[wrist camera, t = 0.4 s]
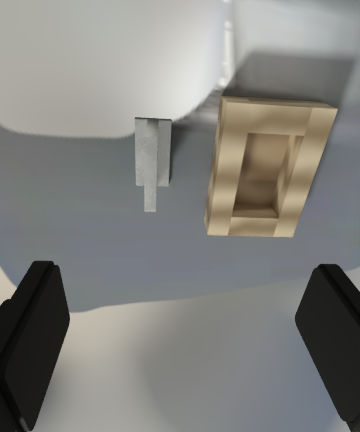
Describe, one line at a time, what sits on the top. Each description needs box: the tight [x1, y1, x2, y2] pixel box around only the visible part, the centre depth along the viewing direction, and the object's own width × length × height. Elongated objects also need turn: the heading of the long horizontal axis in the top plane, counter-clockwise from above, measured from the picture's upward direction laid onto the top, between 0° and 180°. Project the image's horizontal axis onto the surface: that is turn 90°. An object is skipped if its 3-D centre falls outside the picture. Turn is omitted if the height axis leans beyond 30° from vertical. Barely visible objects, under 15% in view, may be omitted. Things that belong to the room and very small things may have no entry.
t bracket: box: [135, 117, 172, 212], centre depth 38 cm, size 10×5×8 cm, turn 176°
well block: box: [204, 96, 338, 237], centre depth 42 cm, size 20×14×4 cm
